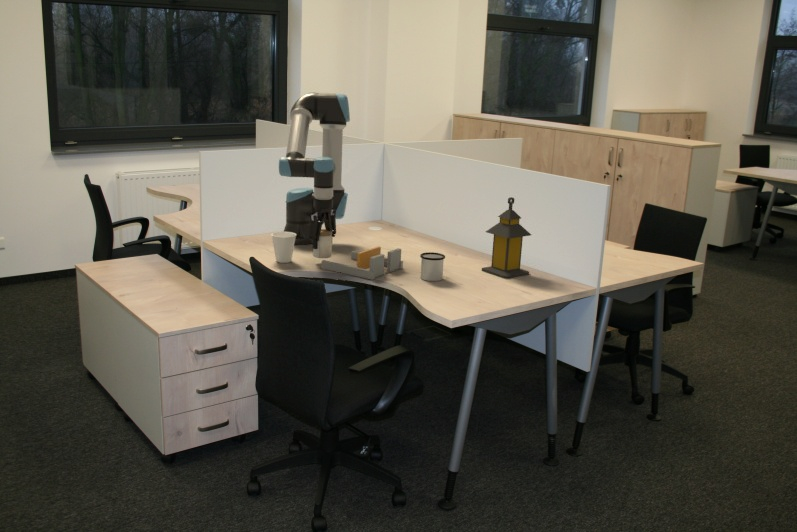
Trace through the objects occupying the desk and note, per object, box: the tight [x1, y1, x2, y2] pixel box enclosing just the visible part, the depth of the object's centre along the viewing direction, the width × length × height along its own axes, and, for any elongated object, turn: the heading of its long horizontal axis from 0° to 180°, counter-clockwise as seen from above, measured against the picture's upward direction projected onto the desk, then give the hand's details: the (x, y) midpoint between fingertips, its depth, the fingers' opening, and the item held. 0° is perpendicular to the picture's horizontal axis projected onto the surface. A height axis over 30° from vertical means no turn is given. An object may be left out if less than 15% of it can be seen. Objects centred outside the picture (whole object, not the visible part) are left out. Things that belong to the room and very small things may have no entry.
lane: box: [321, 248, 404, 281], centre depth 291 cm, size 21×24×8 cm
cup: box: [270, 231, 296, 264], centre depth 297 cm, size 10×10×11 cm
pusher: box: [356, 246, 388, 270], centre depth 288 cm, size 14×9×7 cm, turn 147°
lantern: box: [481, 197, 532, 280], centre depth 292 cm, size 14×14×30 cm
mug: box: [419, 251, 446, 282], centre depth 283 cm, size 12×10×9 cm
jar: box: [313, 228, 333, 259], centre depth 295 cm, size 7×7×10 cm
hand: (322, 254), depth 296 cm, fingers closed on jar, 7 cm apart
